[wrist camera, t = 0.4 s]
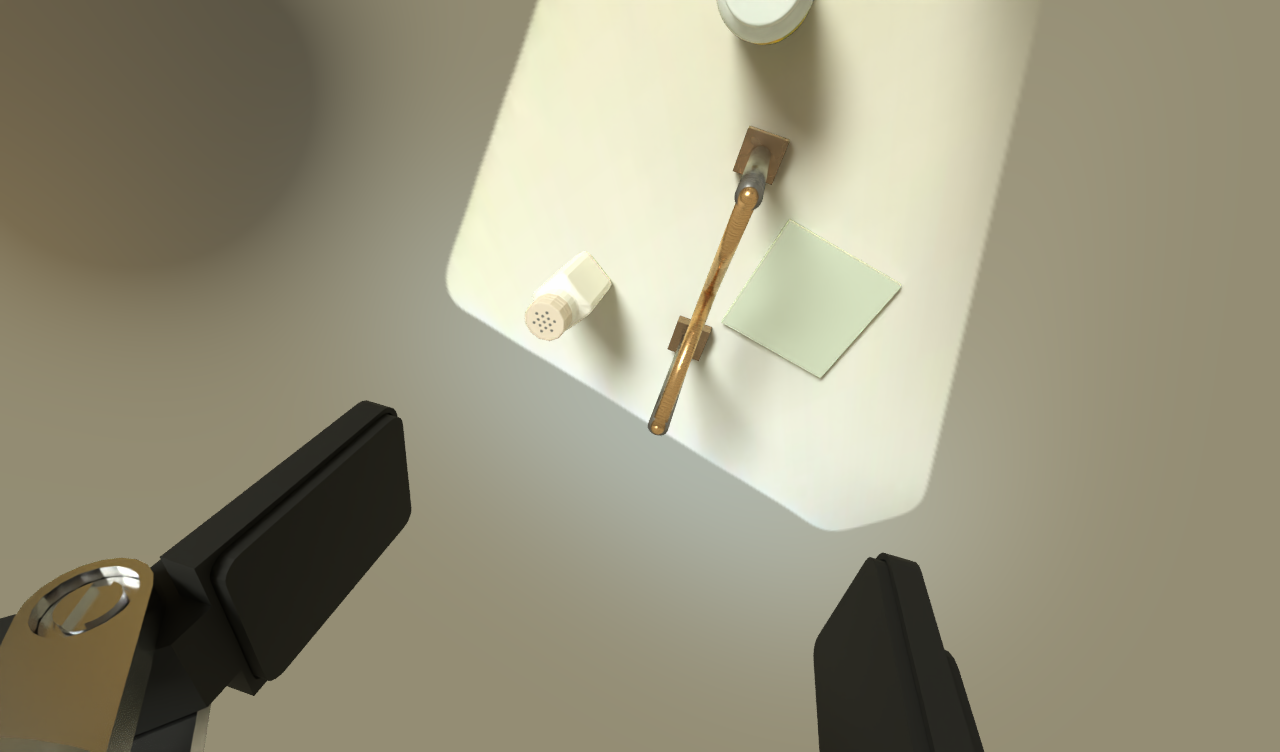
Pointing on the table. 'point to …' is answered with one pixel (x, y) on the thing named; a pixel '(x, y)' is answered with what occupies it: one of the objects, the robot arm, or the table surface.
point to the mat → (809, 299)
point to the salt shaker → (567, 297)
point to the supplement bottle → (763, 18)
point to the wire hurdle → (719, 265)
